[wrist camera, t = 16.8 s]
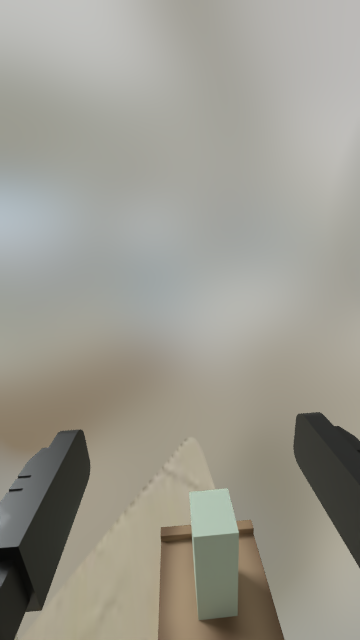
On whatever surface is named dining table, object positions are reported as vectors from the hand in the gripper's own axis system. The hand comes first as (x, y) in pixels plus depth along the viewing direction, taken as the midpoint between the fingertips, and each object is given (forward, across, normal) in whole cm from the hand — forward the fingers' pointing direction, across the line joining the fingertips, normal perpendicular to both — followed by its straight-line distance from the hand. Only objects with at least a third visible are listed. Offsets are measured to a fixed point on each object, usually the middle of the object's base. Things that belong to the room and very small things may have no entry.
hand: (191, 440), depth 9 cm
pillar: (+9, -2, +29) cm, 30 cm away
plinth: (+9, -2, +32) cm, 33 cm away
